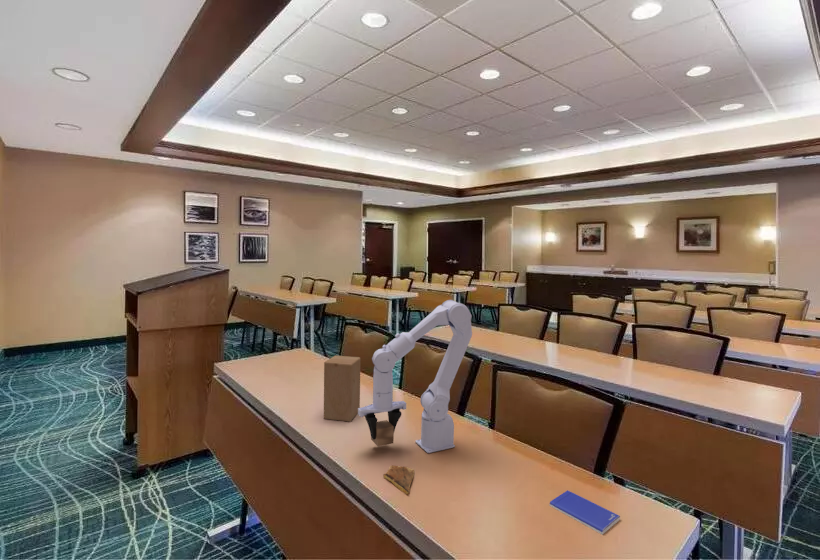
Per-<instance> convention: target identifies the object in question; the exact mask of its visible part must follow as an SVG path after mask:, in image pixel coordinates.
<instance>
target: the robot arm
mask: <svg viewBox="0 0 820 560" xmlns="http://www.w3.org/2000/svg"><path fill="white" fill-rule="evenodd" d="M472 317H473V315H472V314H471V311H470V310H469V308H468V307H467V306H466V305H465V304H464V303H461V302H458V301H455V300H454V299H447V300H445V301H443V302H442V304H439V305H437V306H436V307H435V308H434V309H433V310H432V311H431V312H430V313H429V314H428V315H427V316H426V317H424V318H423V319H422V320H421V321H419V322H418V323H417V324H416V325H415V326H414V327H412V328H411V330H409V331H407V332H405V331H402V332H401V333H399V332H397V333H396V334H395V335H394V337H395V338H393V339H391V340H390V341H389V342H388V343H387V344H383V345H382V347H381V348H379V349H376V350H375V351H374V353H373V355H372V357H371V361H372V364H373V365H374V366H373V374H372V375H373V377H372V403H371V404H368V405H365V406H363V407H360V408H358V413H357V415H358V417H360V418H363V417H364V419H365V420H366V422H367V425H368V429H369V432H370V438H371V437H372V439H376V424H377V422H378V418H377V417H376V414H380V413H381V414H382V413H387V417H388V419H387V421H388V422H390V423H391V424H392V425H393V426H394V432H395V430H396V427H397V424H398V422H399V420H400V419H401V418H402V411H401V410H407V402H405V401H404V400H400V401H399V400H398V401H397V400H396V401H393V395H394V393H393V392H394V391H393V389H394V387H393V385H394V375H393V369H395V366H396V363H397V362H399V361H400V360H401V359H403V357H405V356H406V355H407V354H409V353H410V352H411V351H412V350H413V349H414V348H415V347H416V342H417V341H418V340H420V339H421V338H422V337H424V336H425V335H427V334H428V333H429V332H430V331H432V330H433V329H434V328H436V327H437V326H449V327H450V330H451V331H452V337H451V339H450V342H449V344H448V346H447V349H446V351H445V353H444V356H443V358H442V361H441V363H440V365H439V368H438V370H437V373H436V375H435V377H434V380H433V382H431V383H430V384H429V385H428V387H427V388H426V390H425V391H424V392H423V393H422V394H421V396H420V405H421V407H422V408H423V410H422V413H421V425H420V429H421V430H420V432H421V433H420V439H415V443H416V444H417V445H418V446H419V447H420V448H421V449H423V450H424V452H426V453H427V454H431V453H435V452H439V451H444V450H448V449H452V448H455V447H456V445H455V444H454V443H455V441H454V439H455V437H454V435H455V424H454V420H453V417H452V415H450V414H449V403H450V401H451V395H450V392H451V391H450V390H451V387H452V385H453V382H454V380H455V378H456V375H457V373H458V370H459V367H460V365H461V364H462V361H463V359H464V356H465V354H466V351H467V348H468V346H469V344H470V342H471V339H472V336H473V329H472V327H473V326H472Z"/></svg>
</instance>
